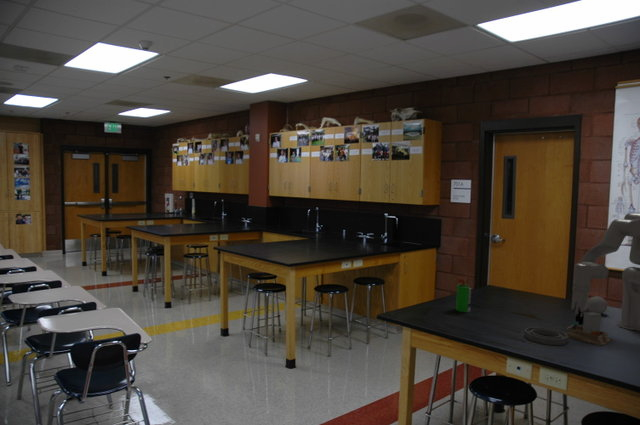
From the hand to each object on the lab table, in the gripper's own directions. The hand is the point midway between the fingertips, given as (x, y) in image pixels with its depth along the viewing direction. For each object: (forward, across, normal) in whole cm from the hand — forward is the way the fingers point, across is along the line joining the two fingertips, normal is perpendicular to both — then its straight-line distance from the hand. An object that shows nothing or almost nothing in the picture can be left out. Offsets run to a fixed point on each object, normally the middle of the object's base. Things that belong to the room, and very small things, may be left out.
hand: (579, 323), depth 236 cm
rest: (+3, +11, +7) cm, 13 cm away
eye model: (+4, -44, -5) cm, 44 cm away
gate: (+2, +10, 0) cm, 10 cm away
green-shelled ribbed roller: (+3, +15, -56) cm, 58 cm away
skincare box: (+3, +11, +9) cm, 14 cm away
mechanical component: (+4, +28, -5) cm, 29 cm away
